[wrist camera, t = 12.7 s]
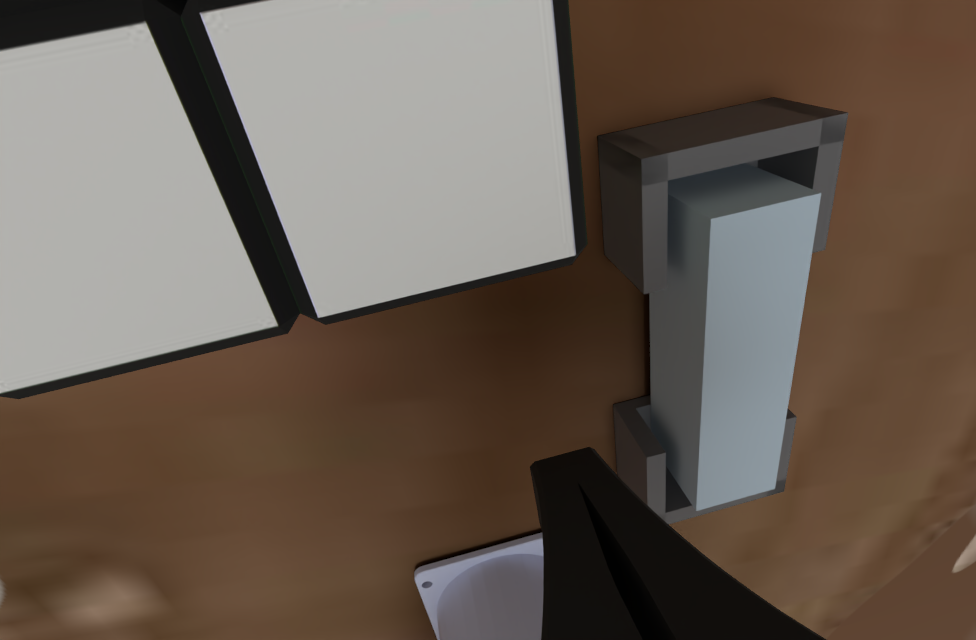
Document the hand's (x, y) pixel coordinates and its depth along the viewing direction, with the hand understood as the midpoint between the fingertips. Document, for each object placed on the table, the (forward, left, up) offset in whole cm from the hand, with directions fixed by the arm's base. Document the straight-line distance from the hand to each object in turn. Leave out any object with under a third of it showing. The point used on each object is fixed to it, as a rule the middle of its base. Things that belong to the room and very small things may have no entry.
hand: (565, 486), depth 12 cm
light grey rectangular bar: (-3, -8, -9) cm, 13 cm away
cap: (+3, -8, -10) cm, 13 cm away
